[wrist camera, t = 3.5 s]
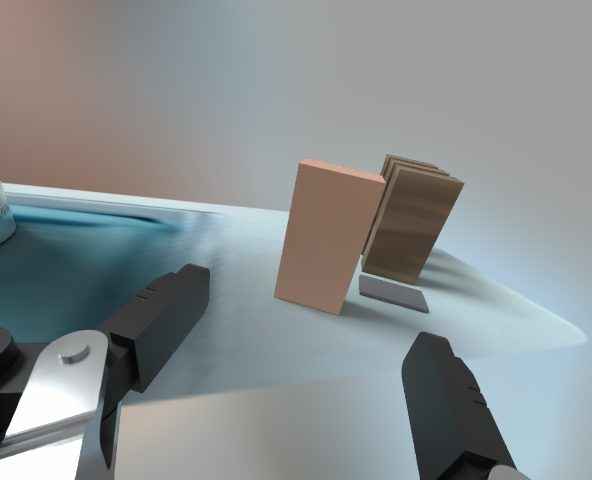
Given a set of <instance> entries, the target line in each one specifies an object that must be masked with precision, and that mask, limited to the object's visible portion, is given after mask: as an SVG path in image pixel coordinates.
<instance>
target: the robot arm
mask: <svg viewBox="0 0 592 480" xmlns="http://www.w3.org/2000/svg"><path fill="white" fill-rule="evenodd" d="M15 229H16V224H15V221H14V218H13V215H12V212H11V209H10V207H9V204H8V201H7V198H6V195H5V193H4V190H3V187H2V184H1V181H0V243H2V242H3V241H5V240H6V239H7V238H9V237H10V236H11V235H12V234H13V233H14V231H15ZM209 281H210V271H209V269H208V268H204V267H201V266H197V265H194V264H190V263H189V264H187V265H185V266H184V267H183V268H182V269H181V270H180V271H179V272H177V273H172V272H171V273H168V274H166V275H164V276H161V277H159V278H157V279H156V280H154V281H153V282H152V283H151V284H149V285H148V286H147V287H146V289H145V290H144V289H143V290H142V291H141V292H140V293H138V294H137V295H136V297H133V298H132V299H131V300H130V301H129V302H127V303H126V304H125V305H124V306H122V307H121V308H120V309H119V310H117V311H116V312H115V313H114V314H113V315H111V316H110V317H109V318H108V319H106V320H105V321H104V322H103V323H101V324H100V325H99V326H98V327H96V328H95V329H94V330H82V331H77V332H73V333H70V334H67V335H65V336H62V337H60V338H58V339H57V340H55V341H54V342H52V343H15V341H14V339H13V337H12V335H11V333H10V332H9V331H8V330H7V329H4V328H0V480H114V470H115V461H116V451H117V442H118V441H117V440H118V432H119V422H120V412H121V400H122V398H123V397H124V396H125V395H126V394H127V392H128V391H129V390H130V389H131V390H134V391H137V392H140V393H143V392H144V391H145V390H146V388H147V387H148V386H149V384H150V383H151V382H152V380H153V379H154V378H155V377H156V375H157V374H158V373H159V371H160V370H161V369H162V367H163V366H164V365H165V364H166V362H167V361H168V360H169V358H170V357H171V356H172V354H173V353H174V352H175V351H176V349H177V348H178V347H179V345H180V344H181V343H182V341H183V340H184V339H185V338H186V336H187V335H188V334H189V332H190V331H191V330H192V328H193V327H194V326H195V325H196V323H197V322H198V321H199V319H200V318H201V317H202V315H203V314H204V312H205V310H206V308H207V305H208V301H209ZM402 381H403V387H404V392H405V398H406V403H407V409H408V415H409V420H410V425H411V431H412V437H413V442H414V448H415V454H416V459H417V465H418V470H419V476H420V480H530V479H529V478H528V477H526V476H525V475H524V474H522V473H521V472H519V471H518V470H517V468H516V466H515V464H514V462H513V460H512V458H511V455H510V454H509V451H508V449H507V447H506V445H505V442H504V440H503V438H502V436H501V434H500V432H499V429H498V427H497V425H496V423H495V421H494V419H493V416H492V414H491V412H490V410H489V408H487V403H486V401H485V399H484V397H483V395H482V393H480V388H479V386H478V384H477V382H476V379H475V377H474V375H473V373H472V372H471V371H470V370H469V368H468V367H467V366H466V365H465V363H464V362H463V361H462V360H461V358H458V357H455V356H454V353H453V351H452V348H451V346H450V344H449V342H448V340H447V339H446V338H444V337H441V336H437V335H434V334H431V333H427V332H423V331H422V332H420V333H419V335H418V336H417V338H416V340H415V341H414V343H413V345H412V347H411V348H410V350H409V352H408V353H407V355H406V357H405V359H404V361H403V364H402Z"/></svg>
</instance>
